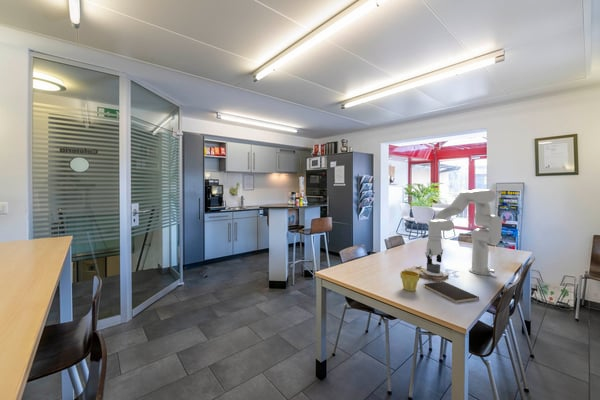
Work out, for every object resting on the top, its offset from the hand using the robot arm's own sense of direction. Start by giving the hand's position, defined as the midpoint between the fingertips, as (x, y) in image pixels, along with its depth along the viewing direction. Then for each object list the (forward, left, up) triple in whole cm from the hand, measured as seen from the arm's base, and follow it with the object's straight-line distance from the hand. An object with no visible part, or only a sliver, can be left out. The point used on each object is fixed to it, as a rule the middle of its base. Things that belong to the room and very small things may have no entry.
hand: (434, 263), depth 172 cm
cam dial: (+2, +1, -7) cm, 8 cm away
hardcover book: (-18, +20, -10) cm, 28 cm away
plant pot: (-1, +34, -10) cm, 35 cm away
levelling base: (+5, +1, -10) cm, 11 cm away
